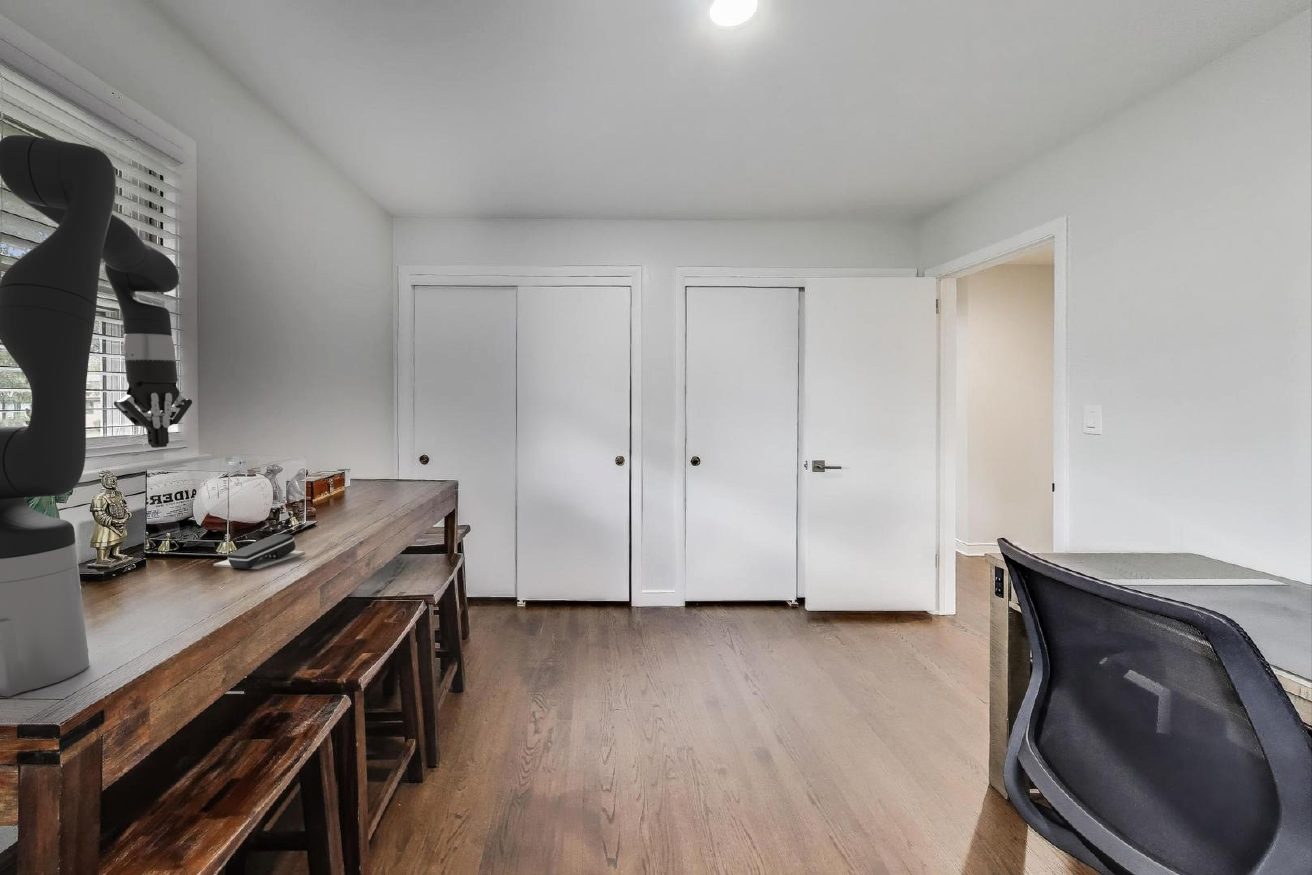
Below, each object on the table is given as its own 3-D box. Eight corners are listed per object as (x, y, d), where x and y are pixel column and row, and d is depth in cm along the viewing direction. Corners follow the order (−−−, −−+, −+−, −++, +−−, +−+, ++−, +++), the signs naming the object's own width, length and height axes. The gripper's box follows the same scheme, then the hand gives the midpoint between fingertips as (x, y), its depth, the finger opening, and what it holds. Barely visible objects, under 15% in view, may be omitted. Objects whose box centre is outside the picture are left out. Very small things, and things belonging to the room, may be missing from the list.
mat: (256, 569, 120) (256, 567, 120) (213, 566, 124) (213, 563, 123) (305, 553, 132) (304, 551, 132) (264, 550, 135) (264, 548, 135)
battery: (250, 573, 119) (301, 549, 130) (245, 556, 119) (296, 534, 129) (229, 571, 122) (280, 548, 132) (224, 554, 121) (276, 533, 131)
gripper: (125, 356, 104) (134, 451, 105) (200, 359, 116) (207, 444, 118) (96, 358, 106) (105, 450, 107) (173, 361, 118) (180, 443, 120)
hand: (159, 447), depth 112 cm, fingers closed
